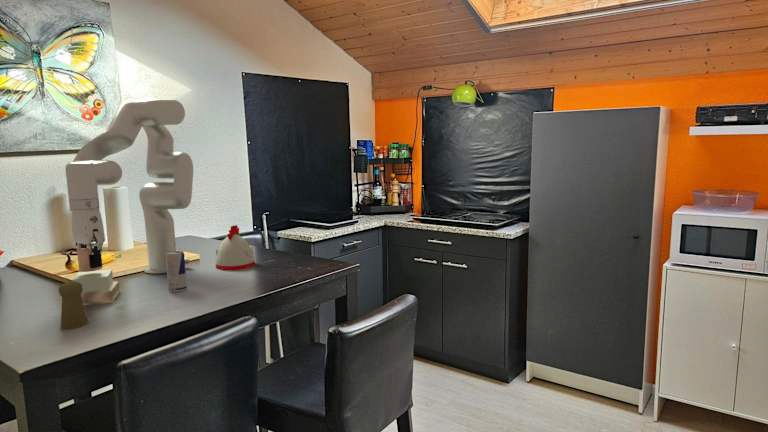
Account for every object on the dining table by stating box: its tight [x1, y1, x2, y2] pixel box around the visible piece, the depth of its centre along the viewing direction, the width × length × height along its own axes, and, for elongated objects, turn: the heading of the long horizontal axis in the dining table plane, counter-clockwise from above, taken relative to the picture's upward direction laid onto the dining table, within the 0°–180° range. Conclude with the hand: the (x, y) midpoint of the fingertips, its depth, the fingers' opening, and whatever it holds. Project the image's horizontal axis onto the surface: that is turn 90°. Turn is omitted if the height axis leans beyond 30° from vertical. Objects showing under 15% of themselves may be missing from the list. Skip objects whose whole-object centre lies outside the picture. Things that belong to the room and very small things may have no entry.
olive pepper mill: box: [58, 281, 89, 330], centre depth 132 cm, size 6×6×11 cm
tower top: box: [71, 269, 114, 292], centre depth 154 cm, size 9×9×4 cm
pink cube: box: [76, 246, 103, 272], centre depth 153 cm, size 6×6×6 cm
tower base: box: [81, 280, 121, 306], centre depth 155 cm, size 11×11×4 cm
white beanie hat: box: [215, 224, 256, 271], centre depth 192 cm, size 14×14×15 cm
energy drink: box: [166, 250, 188, 293], centre depth 162 cm, size 5×5×12 cm
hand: (90, 265), depth 153 cm, fingers closed on pink cube, 6 cm apart
